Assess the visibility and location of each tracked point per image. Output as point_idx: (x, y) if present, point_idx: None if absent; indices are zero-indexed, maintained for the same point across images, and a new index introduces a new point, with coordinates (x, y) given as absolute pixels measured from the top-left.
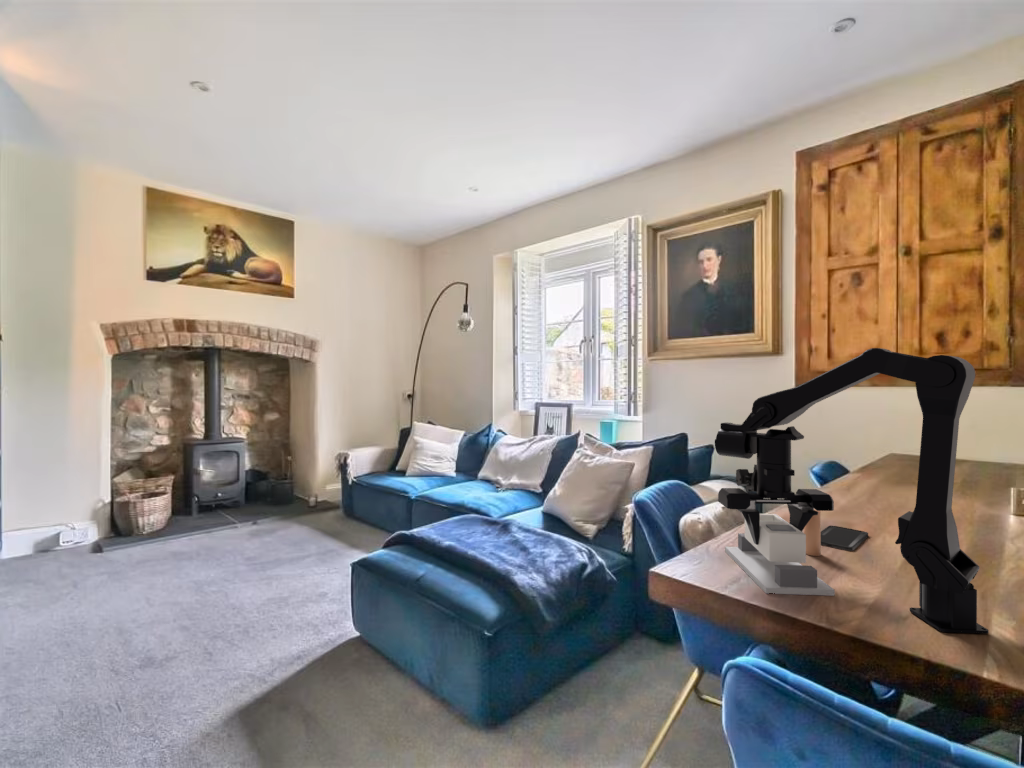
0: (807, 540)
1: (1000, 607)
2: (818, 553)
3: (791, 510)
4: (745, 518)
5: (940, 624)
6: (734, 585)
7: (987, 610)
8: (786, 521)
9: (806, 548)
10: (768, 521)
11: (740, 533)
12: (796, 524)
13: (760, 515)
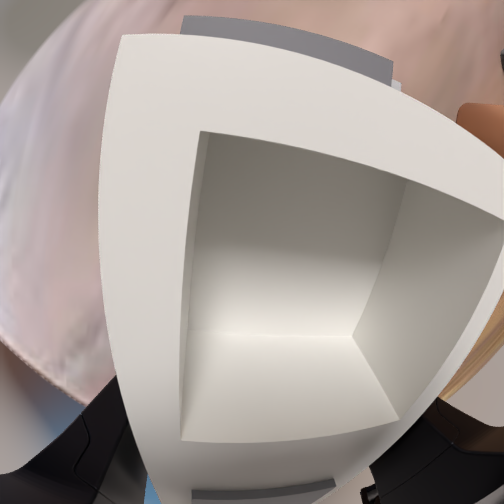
0: (496, 139)
1: (475, 370)
2: None
3: (466, 481)
4: (51, 457)
5: None
6: (80, 361)
7: (457, 382)
8: (422, 412)
9: (471, 131)
10: (278, 449)
11: (201, 17)
12: (381, 473)
13: (401, 175)
